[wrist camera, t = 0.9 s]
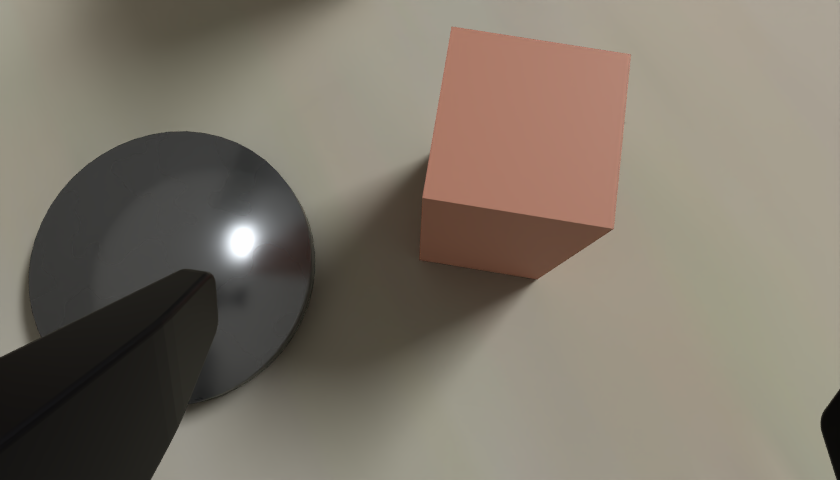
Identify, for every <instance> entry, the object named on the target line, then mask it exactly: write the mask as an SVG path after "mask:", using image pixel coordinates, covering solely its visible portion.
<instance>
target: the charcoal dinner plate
mask: <svg viewBox="0 0 840 480" xmlns="http://www.w3.org/2000/svg"><path fill="white" fill-rule="evenodd" d="M181 269H193V270H200V271H206V272H210V273H211V274H212V275H213V276H214V278H215V282H216V293H217V307H218V326H217V331H216V334H215V337H214V339H213V342H212V344H211V347H210V349H209V352H208V354H207V357H206V359H205V362H204V365H203V367H202V370H201V372H200V375H199V377H198V380H197V382H196V385H195V387H194V390H193V392H192V395H191V397H190V400H189V402H188V404H192V403H197V402H202V401H205V400H208V399H212V398H215V397H218V396H221V395H223V394H225V393H228V392H230V391H232V390H234V389H236V388H238V387H240V386H241V385H243V384H245V383H246V382H248V381H250V380H251V379H253V378H254V377H255V376H257V375H258V374H259V373H260V372H262V371H263V370H264V369H265V368H267V367H268V366H269V365H270V364H271V363H272V362H273V361H274V360H275V359H276V357H277V356H278V355H279V354H280V353H281V352H282V351H283V349H284V348H285V347H286V345H287V344H288V343H289V341H290V340H291V339H292V337H293V335H294V334H295V332H296V330H297V328H298V327H299V325H300V323H301V321H302V319H303V316H304V314H305V312H306V309H307V307H308V303H309V300H310V296H311V292H312V289H313V281H314V274H315V251H314V243H313V237H312V233H311V229H310V226H309V222H308V220H307V217H306V215H305V212H304V210H303V208H302V206H301V204H300V202H299V201H298V199H297V197H296V196H295V194H294V192H293V191H292V190H291V188H290V187H289V186H288V184H287V183H286V182H285V180H284V179H283V178H282V177H281V176H280V174H279V173H278V172H277V171H276V170H275V169H274V168H273V167H272V166H271V165H270V164H269V163H268V162H267V161H265V160H264V159H263V158H261V157H260V156H258V155H257V154H256V153H254V152H253V151H251V150H249V149H248V148H246V147H244V146H242V145H240V144H238V143H236V142H233V141H231V140H228V139H225V138H222V137H219V136H215V135H210V134H206V133H198V132H188V131H184V132H165V133H158V134H152V135H148V136H144V137H141V138H137V139H134V140H131V141H129V142H126V143H124V144H121V145H119V146H117V147H115V148H113V149H111V150H109V151H107V152H106V153H104V154H102V155H100V156H99V157H98V158H96V159H95V160H93V161H92V162H91V163H89V164H88V165H86V166H85V167H84V168H83V169H82V170H81V171H80V172H79V173H77V174H76V175H75V176H74V177H73V178H72V179H71V180H70V181H69V182H68V184H67V185H66V186H65V187H64V188H63V189H62V190H61V192H60V193H59V194H58V196H57V197H56V199H55V200H54V202H53V203H52V205H51V206H50V208H49V210H48V212H47V213H46V215H45V217H44V219H43V221H42V223H41V226H40V228H39V231H38V233H37V236H36V239H35V242H34V246H33V250H32V254H31V260H30V269H29V296H30V302H31V308H32V313H33V316H34V319H35V322H36V325H37V329H38V331H39V333H40V335H41V337H43V336H45V335H47V334H49V333H51V332H53V331H55V330H57V329H60V328H62V327H64V326H66V325H68V324H70V323H72V322H74V321H76V320H78V319H80V318H82V317H84V316H86V315H88V314H90V313H92V312H94V311H96V310H99V309H101V308H103V307H105V306H107V305H109V304H111V303H113V302H115V301H117V300H119V299H121V298H123V297H125V296H127V295H129V294H131V293H133V292H135V291H137V290H140V289H142V288H144V287H146V286H148V285H150V284H152V283H154V282H156V281H158V280H160V279H162V278H164V277H166V276H168V275H170V274H172V273H174V272H176V271H179V270H181Z"/></svg>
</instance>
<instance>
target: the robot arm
mask: <svg viewBox="0 0 840 480" xmlns="http://www.w3.org/2000/svg"><path fill="white" fill-rule="evenodd" d="M217 326H218V307H217V293H216V282H215V278H214V276H213V275H212V274H211V273H210V272H206V271H200V270H193V269H181V270H179V271H176V272H174V273H172V274H170V275H168V276H166V277H164V278H162V279H160V280H158V281H156V282H154V283H152V284H150V285H148V286H146V287H144V288H142V289H140V290H137V291H135V292H133V293H131V294H129V295H127V296H125V297H123V298H121V299H119V300H117V301H115V302H113V303H111V304H109V305H107V306H105V307H103V308H101V309H99V310H96V311H94V312H92V313H90V314H88V315H86V316H84V317H82V318H80V319H78V320H76V321H74V322H72V323H70V324H68V325H66V326H64V327H62V328H60V329H57V330H55V331H53V332H51V333H49V334H47V335H45V336H43V337H41V338H39V339H37V340H35V341H33V342H31V343H29V344H27V345H25V346H23V347H21V348H18V349H16V350H14V351H12V352H10V353H8V354H6V355H4V356H2V357H0V480H151V478H152V477H153V475H154V473H155V471H156V469H157V467H158V465H159V464H160V462H161V460H162V458H163V456H164V454H165V452H166V450H167V449H168V447H169V445H170V443H171V441H172V439H173V437H174V435H175V433H176V431H177V429H178V427H179V424H180V422H181V420H182V417H183V415H184V413H185V410H186V407H187V405H188V402H189V400H190V397H191V395H192V392H193V390H194V387H195V385H196V382H197V380H198V377H199V375H200V372H201V370H202V367H203V365H204V362H205V359H206V357H207V354H208V352H209V349H210V347H211V344H212V342H213V339H214V337H215V334H216V331H217ZM821 431H822V435H823V438H824V441H825V444H826V447H827V450H828V454H829V457H830V460H831V463H832V466H833V470H834V473H835V476H836V479H837V480H840V389H839V391H838V392H837V394H836V395H835V396H834V398H833V399H832V400H831V402H830V403H829V405H828V406H827V407H826V409H825V410H824V412H823V414H822V417H821Z"/></svg>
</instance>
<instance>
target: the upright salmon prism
mask: <svg viewBox="0 0 840 480" xmlns="http://www.w3.org/2000/svg"><path fill="white" fill-rule="evenodd" d="M630 59H631V54H625V53H619V52H612V51H606V50H599V49H593V48H586V47H580V46H573V45H567V44H561V43H554V42H548V41H541V40H535V39H528V38H522V37H515V36H509V35H502V34H496V33H490V32H483V31H477V30H470V29H464V28H457V27H451V33H450V39H449V45H448V51H447V57H446V62H445V68H444V74H443V80H442V86H441V92H440V98H439V103H438V109H437V115H436V121H435V127H434V133H433V138H432V144H431V150H430V156H429V162H428V168H427V173H426V179H425V185H424V191H423V197H422V214H421V235H420V255H419V260H423V261H429V262H435V263H441V264H447V265H453V266H459V267H465V268H471V269H477V270H483V271H489V272H495V273H501V274H507V275H514V276H520V277H526V278H532V279H538V278H540V277H541V276H543V275H545V274H546V273H548V272H549V271H551V270H552V269H554V268H555V267H557V266H558V265H560V264H561V263H563V262H564V261H566V260H567V259H569V258H570V257H572V256H573V255H575V254H576V253H578V252H579V251H581V250H582V249H584V248H585V247H587V246H588V245H590V244H592V243H593V242H595V241H596V240H598V239H599V238H601V237H602V236H604V235H605V234H607V233H608V232H610V231H611V230H613V229H614V221H615V210H616V200H617V190H618V180H619V170H620V160H621V150H622V140H623V129H624V119H625V109H626V99H627V89H628V79H629V69H630Z"/></svg>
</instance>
